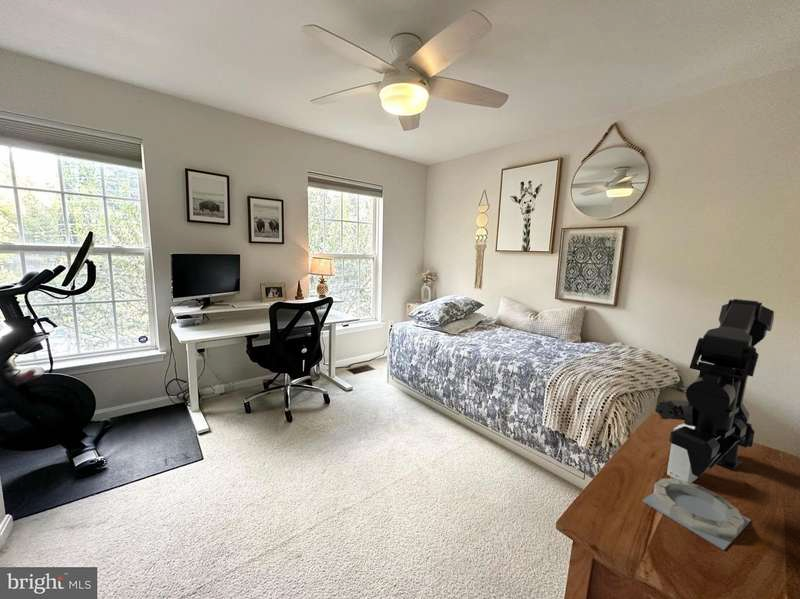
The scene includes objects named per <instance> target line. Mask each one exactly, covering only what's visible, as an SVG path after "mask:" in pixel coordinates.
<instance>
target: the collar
mask: <svg viewBox="0 0 800 599" xmlns="http://www.w3.org/2000/svg"><path fill="white" fill-rule="evenodd" d="M653 492H654V495H655V499H656V502H657V503H658V504H659V505H660V506H661V507H662V508H663V509H664V510H665V511H666V512H667V513H668V514H669V515H670V516H672V517H674V518H675V519H677V520H679V521H680V522H682V523H684V524H685V525H687V526H689V527H690V528H692V529H695V530H698V531H701V532H704V533H707V534H709V535H712V536H715V537H729V538H735V539H736V538H737V537H738V536H739V535H740V533H741V532H743V530H744V529H743V525H744V520H743V518H742V516H743V515H742V514H741V513H740V511H739V509H738V508H737V507H735V506H734V505H733V504H732V503H730V502H729V501H728V500H727V499H725V498H724V497H723V496H721V495H720V494H717V493H715V492H713V491H712V490H709V489H708V488H706V487H703V486H701V485H700V484H696V483H693V482H692V483H690V482H686V481H683V480H680V479H675V478H661V479H659V480H658V481H656V482H655V483H654V487H653ZM668 492H682V493H685V494H688V495H691V496H695V497H697V498H699V499H701V500H703V501H705V502H707V503H709V504H711V505H713V506H714V507H715V508H717V509H718V510H719V511H720V512H721V513H723V514H724V515H725V516H726V518H727V521H713V520H710V519H707V518H704V517H700V516H697V515H694V514H693V513H691V512H689V511H687V510H685V509H684V508H682V507H680V506H678V505H677V504H676V503H675V502H674V501H673V500H672V499H670V498H669V497H668V496H667V494H666V493H668ZM741 515H742V516H741Z"/></svg>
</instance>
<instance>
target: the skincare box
mask: <svg viewBox="0 0 800 599" xmlns="http://www.w3.org/2000/svg"><path fill="white" fill-rule="evenodd" d="M684 426H686V427H689V428H691V429H695V427H694V426H689V425H687V424H684V423H681V424H678V425H677V426H675V427H674V428H673V430H672V431H674V430H676V429H678V428H681V427H684ZM670 445H671V446H670V451H669V458H668V464H667V471H666V474H667V475H668V476H670V477H672V478H673V479H680V480H683V481H686V482H690V483H693V482H694V481H696V480H697V479H698V478H699V477H697V476H695V475H693V474H692V471H691V466H690V461H689V457H688V453H687V450H686V449H684V448H681V447H679V446H677V445H675V444H672V443H671V444H670Z"/></svg>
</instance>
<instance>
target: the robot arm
mask: <svg viewBox="0 0 800 599" xmlns="http://www.w3.org/2000/svg"><path fill="white" fill-rule="evenodd" d="M774 318H775V311H774V310H772V309H770V308H768V307H765V306H764V305H763V302H759V301H758V300H747V299H738V298H733V299H729V300H728V303H725V304H723V305H721V309H720V312H719V317H718V322H719V326H718V327H716V328H711V329H708V330H707V331H706V333H705V334H704V335H703V337H699V338H698V340H697V343H696V346H695V349H694V352H693V355H692V359H691V362H690V365H689V369H691V370H695V371H698V372H699V374H698V377H697V378H696V379H695V380H693V382H692V383H691V384H690V385H689V386H688V387H687V388H686V390H685V397H686V400H676V399H665V400H660V401H659V402H657V403H656V405H655V407H656V408H655V410H654V411H655V412H656V413H657V414H658V416H660V419H661V420H679V421H683V422H684V423H683V424H687V425H689V426H694V427H695V429H691V428H689V427H686V426H684V427H681V428H678V429H676V430H674V429H673V430H674V431H673V430H671V432H670V434H669V435H670V436H669V443H671V444H675V445H677V446H679V447H681V448H684V449H686V450H687V453H688V457H689V461H690V466H691V471H692V474H693V475H695V476H697V477H698V478H700V477H701V476H702V475H703V474H704V473H705V472H706V471H707V470H708V469H712V468H713V467H714V466H715V465H716V464H718V465H720V466H722V467H725V468H727V469H729V470H732V471H734V470H735V469H736V468H737V467H739V466H740V465H741V464H742V462H743V461H742V460H740V459H738V456H739V450H740V446H741V447H743V448H744V449H747V448H753V444H754V438H755V430H754V429H753V425H752V423H749V420H750V413H749V411H748V409H747V407H746V406H745V405H744V397H745V392H746V386H747V382H748V379H749V378H748V377H752V378H753V377H754V374H755V371H756V366H757V363H758V360H759V357H760V356H759V355H760V354H759V353H758V352H757V348H756V345H758V344H760V342H762V340H764V339H765V337H766V336H767V332H771V331H772V327H773V324H774ZM699 360H700V361H699Z"/></svg>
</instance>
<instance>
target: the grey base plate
mask: <svg viewBox="0 0 800 599" xmlns="http://www.w3.org/2000/svg"><path fill="white" fill-rule="evenodd" d="M666 494H667V496H668V497H669V498H670V499H672V500H673V501H674V502H675V503H676V504H677V505H678V506H680V507H682V508H684V509H685V510H687V511H689V512H691V513H693V514H694V515H697V516H700V517H704V518H707V519H710V520H713V521H727V518H726V516H725V515H724V514H723V513H721V512H720V511H719V510H718V509H717V508H715V507H714V506H713V505H711V504H709V503H707V502H705V501H703V500H701V499H699V498H697V497H695V496H691V495H688V494H685V493H682V492H668V493H666ZM641 501H642V503H644V504H646V506H647V505H648V506H649V507H651V508H653V509H654V510H655V511H657V512H659V513H661V514H662V515H664V516H666V517H667V518H669V519H671V520H672V521H674V522H676V523H678V524H679V525H680V526H682V527H684V528H685V529H687V530H689V531H691V532H692V533H694V534H696V535H698V537H700V538H702V539H703V540H706V541H707V542H709V543H710V544H712V545H714V546H716V547H718V548H719V549H721V550H723V551H725V550H726V549H728V547H729V545H730V544H731V543H732V542H733V541H734V540H735V539H736V538H729V537H715V536H712V535H709V534H707V533H704V532H701V531H698V530H695V529H692V528H690V527H689V526H687V525H685V524H684V523H682V522H680V521H679V520H677V519H675V518H674V517H672V516H670V515H669V514H668V513H667V512H666V511H665V510H664V509H663V508H662V507H661V506H660V505H659V504H658V503H657V502H656V499H655V495H654V491H653V492H652V493H650V494H649V495H647V496H646V497H645V498H643V499H642V500H641ZM741 516H742V518H743V520H744V525H743V530H745V528H746V526H748V525H749V523H750V522H751V519H750V518H748V517H746V516H744V515H742V514H741Z"/></svg>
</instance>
